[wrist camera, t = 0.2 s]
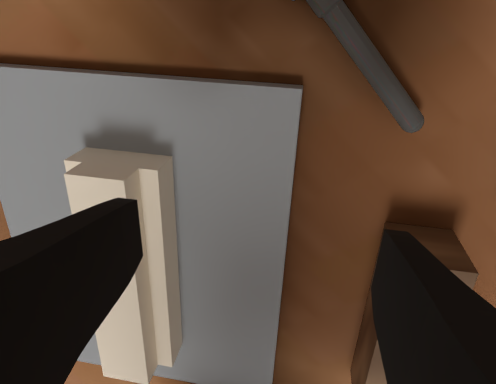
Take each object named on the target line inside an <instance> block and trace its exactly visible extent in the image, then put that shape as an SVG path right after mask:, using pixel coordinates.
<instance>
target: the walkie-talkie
mask: <svg viewBox="0 0 496 384" xmlns="http://www.w3.org/2000/svg"><path fill="white" fill-rule="evenodd" d="M292 1H295V0H292ZM306 1H307V3H308V4H309V5H310V7H311V8H312V10H313V11H314V12H315V14H316V15H317V16H318V18H323V19H324V20H325V22H326V23H327V24H328V26H329V27H330V29H331V30H332V31H333V33H334V34H335V36H336V37H337V38H338V40H339V41H340V43H341V44H342V45H343V47H344V48H345V50H346V51H347V52H348V54H349V55H350V57H351V58H352V59H353V61H354V62H355V64H356V65H357V66H358V68H359V69H360V71H361V72H362V73H363V75H364V76H365V78H366V79H367V80H368V82H369V83H370V85H371V86H372V87H373V89H374V90H375V92H376V93H377V94H378V96H379V97H380V98H381V100H382V101H383V103H384V104H385V105H386V107H387V108H388V110H389V111H390V112H391V114H392V115H393V117H394V118H395V119H396V121H397V122H398V124H399V125H400V126H401V128H402V129H403V130H404V131H406V132H410V133H412V132H416V131H418V130H420V129H421V128H422V126H423V124H424V117H423V115H422V113H421V112H420V111H419V109H418V108H417V106H416V105H415V103H414V102H413V101H412V99H411V98H410V96H409V95H408V93H407V92H406V91H405V89H404V88H403V86H402V85H401V83H400V82H399V80H398V79H397V78H396V76H395V75H394V73H393V72H392V70H391V69H390V68H389V66H388V65H387V63H386V62H385V60H384V59H383V57H382V56H381V55H380V53H379V52H378V50H377V49H376V47H375V46H374V45H373V43H372V42H371V40H370V39H369V37H368V36H367V34H366V33H365V32H364V30H363V29H362V27H361V26H360V24H359V23H358V22H357V20H356V19H355V17H354V16H353V14H352V13H351V11H350V10H349V9H348V7H347V6H346V4H345V3H344V1H343V0H306Z"/></svg>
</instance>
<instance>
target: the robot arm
mask: <svg viewBox="0 0 496 384" xmlns="http://www.w3.org/2000/svg"><path fill="white" fill-rule="evenodd" d="M142 257H143V249H142V240H141V231H140V222H139V212H138V203H137V200H135V199H126V198H115V199H111V200H108V201H105V202H102V203H100V204H97V205H95V206H92V207H90V208H87V209H85V210H82V211H80V212H77V213H75V214H72V215H70V216H67V217H65V218H62V219H60V220H57V221H55V222H52V223H50V224H47V225H44V226H42V227H39V228H36V229H33V230H31V231H28V232H25V233H23V234H20V235H17V236H14V237H11V238H8V239H5V240H2V241H0V384H64V383H65V381H66V379H67V377H68V375H69V374H70V372H71V370H72V368H73V366H74V365H75V363H76V361H77V359H78V358H79V356H80V354H81V353H82V351H83V350H84V348H85V347H86V345H87V344H88V342H89V341H90V339H91V338H92V336H93V335H94V334H95V332H96V331H97V329H98V328H99V327H100V325H101V324H102V322H103V321H104V319H105V318H106V317H107V315H108V314H109V312H110V311H111V309H112V308H113V307H114V305H115V304H116V302H117V301H118V299H119V298H120V297H121V295H122V294H123V292H124V291H125V289H126V288H127V286H128V285H129V283H130V281H131V279H132V278H133V276H134V274H135V272H136V270H137V268H138V266H139V264H140V261H141V259H142ZM371 297H372V310H373V320H374V325H375V330H376V335H377V340H378V344H379V349H380V354H381V358H382V363H383V367H384V372H385V376H386V381H387V384H496V308H495V307H493V306H492V305H491V304H490V303H488V302H487V301H486V300H485V299H483V298H482V297H481V296H480V295H478V294H477V293H476V292H475V291H473V290H472V289H471V288H470V287H469V286H467V285H466V284H465V283H464V282H463V281H462V280H460V279H459V278H458V277H457V276H456V275H455V274H454V273H452V272H451V271H450V270H449V269H448V268H447V267H446V266H445V265H444V264H443V263H441V262H440V261H439V260H438V259H437V258H436V257H435V256H434V255H433V254H432V253H431V252H430V251H429V250H428V249H427V248H425V247H424V246H423V245H422V244H421V243H420V242H419V241H418V240H417V239H416V238H415V237H414V236H412V235H411V234H410V233H409V232H407V231H398V230H390V229H384V233H383V237H382V241H381V246H380V250H379V254H378V259H377V263H376V267H375V272H374V276H373V281H372V285H371Z"/></svg>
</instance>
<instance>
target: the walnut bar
mask: <svg viewBox="0 0 496 384" xmlns="http://www.w3.org/2000/svg"><path fill="white" fill-rule="evenodd" d="M384 229H390V230H398V231H407V232H409V233H410V234H411V235H412V236H414V237H415V238H416V239H417V240H418V241H419V242H420V243H421V244H422V245H423V246H424V247H425V248H427V249H428V250H429V251H430V252H431V253H432V254H433V255H434V256H435V257H436V258H437V259H438V260H439V261H440V262H441V263H443V264H444V265H445V266H446V267H447V268H448V269H449V270H450V271H451V272H452V273H454V274H455V275H456V276H457V277H458V278H459V279H460V280H462V281H463V282H464V283H465V284H466V285H467V286H469V287H470V288H471V289H472V290H473V287H474V285H475V282H476V279H477V277H478V274H479V273H478V272H477V270H476V268H475V267H474V265H473V263H472V262H471V260H470V258H469V257H468V255H467V253H466V251H465V250H464V248H463V246H462V245H461V243H460V241H459V240H458V238H457V236H456V235H455V233H454V231H453V230H449V229H440V228H432V227H424V226H415V225H407V224H398V223H390V222H385V225H384ZM384 229H383V233H384ZM382 237H383V234H382ZM381 241H382V238H381ZM380 246H381V242H380ZM379 250H380V247H379ZM378 254H379V251H378ZM377 259H378V255H377ZM377 259H376V263H377ZM375 267H376V264H375ZM374 272H375V268H374ZM374 272H373V276H374ZM373 276H372V281H373ZM372 281H371V285H372ZM371 285H370V289H369V293H368V298H367V302H366V306H365V311H364V315H363V319H362V323H361V328H360V332H359V336H358V340H357V345H356V349H355V353H354V358H353V362H352V366H351V370H350V371H351V383H352V384H387V381H386V376H385V372H384V367H383V363H382V358H381V354H380V349H379V344H378V340H377V335H376V330H375V325H374V320H373V310H372V297H371Z"/></svg>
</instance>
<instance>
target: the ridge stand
mask: <svg viewBox="0 0 496 384" xmlns="http://www.w3.org/2000/svg"><path fill="white" fill-rule="evenodd" d="M302 92H303V85H292V84H279V83H265V82H251V81H237V80H224V79H210V78H196V77H183V76H169V75H155V74H141V73H128V72H114V71H100V70H86V69H73V68H59V67H45V66H31V65H18V64H4V63H0V200H1V203H2V207H3V210H4V214H5V217H6V220H7V224H8V227H9V231H10V234H11V237H14V236H17V235H20V234H23V233H25V232H28V231H31V230H33V229H36V228H39V227H42V226H44V225H47V224H50V223H52V222H55V221H57V220H60V219H62V218H65V217H67V216H70V215H72V214H75V213H77V212H80V211H82V210H85V209H87V208H90V207H92V206H95V205H97V204H100V203H102V202H105V201H108V200H111V199H115V198H126V199H135V200H137V203H138V212H139V222H140V231H141V240H142V249H143V257H142V259H141V261H140V264H139V266H138V268H137V270H136V272H135V274H134V276H133V278H132V279H131V281H130V283H129V285H128V286H127V288H126V289H125V291H124V292H123V294H122V295H121V297H120V298H119V299H118V301H117V302H116V304H115V305H114V307H113V308H112V309H111V311H110V312H109V314H108V315H107V317H106V318H105V319H104V321H103V322H102V324H101V325H100V327H99V328H98V329H97V331H96V332H95V334H94V335H93V336H92V338H91V339H90V341H89V342H88V344H87V345H86V347H85V348H84V350H83V351H82V353H81V354H80V356H79V358H78V359H77V361H82V362H87V363H92V364H97V365H102V370H103V375H104V376H105V377H111V378H116V379H121V380H126V381H131V382H136V383H141V384H149V383H150V380H151V378H152V376H153V375H155V376H160V377H165V378H170V379H175V380H181V381H186V382H191V383H196V384H272V383H273V373H274V363H275V354H276V344H277V334H278V325H279V315H280V305H281V296H282V286H283V276H284V266H285V257H286V247H287V237H288V228H289V218H290V208H291V198H292V189H293V179H294V169H295V160H296V150H297V140H298V131H299V121H300V111H301V101H302Z"/></svg>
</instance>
